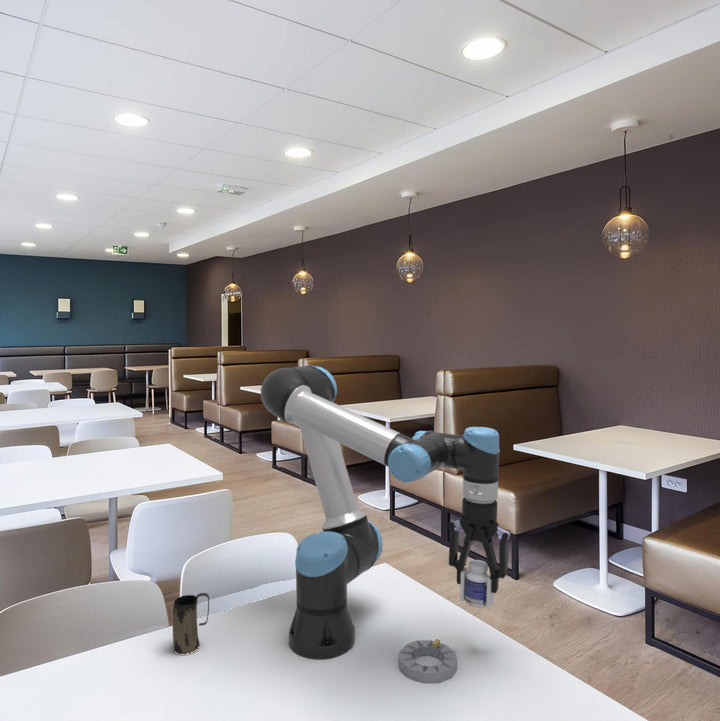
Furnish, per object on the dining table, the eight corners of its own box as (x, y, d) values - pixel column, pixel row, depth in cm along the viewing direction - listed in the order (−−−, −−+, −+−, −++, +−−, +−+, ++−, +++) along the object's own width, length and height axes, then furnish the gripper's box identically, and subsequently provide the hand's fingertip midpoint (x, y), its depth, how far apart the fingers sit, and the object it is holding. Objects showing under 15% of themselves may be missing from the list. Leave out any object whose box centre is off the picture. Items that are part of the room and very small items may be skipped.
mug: (171, 656, 120) (170, 603, 119) (174, 643, 125) (173, 591, 125) (209, 652, 122) (208, 599, 121) (210, 638, 127) (209, 588, 127)
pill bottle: (489, 610, 118) (490, 569, 118) (464, 606, 119) (466, 567, 119) (488, 598, 124) (490, 559, 123) (465, 595, 125) (466, 557, 124)
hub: (389, 671, 114) (389, 658, 114) (413, 643, 125) (413, 631, 125) (444, 689, 108) (444, 675, 108) (464, 658, 119) (464, 646, 119)
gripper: (434, 496, 121) (431, 598, 122) (517, 510, 112) (513, 621, 113) (446, 487, 128) (443, 585, 129) (526, 501, 119) (522, 605, 120)
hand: (476, 601), depth 121 cm, fingers closed on pill bottle, 5 cm apart
